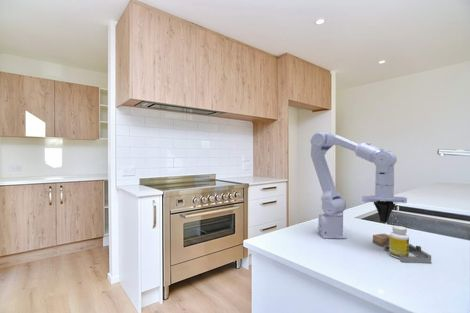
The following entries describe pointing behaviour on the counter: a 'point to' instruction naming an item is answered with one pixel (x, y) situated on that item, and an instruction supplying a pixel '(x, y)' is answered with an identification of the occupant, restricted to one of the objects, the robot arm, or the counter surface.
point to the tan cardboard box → (381, 239)
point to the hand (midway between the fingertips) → (383, 222)
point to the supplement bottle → (399, 242)
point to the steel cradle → (419, 254)
